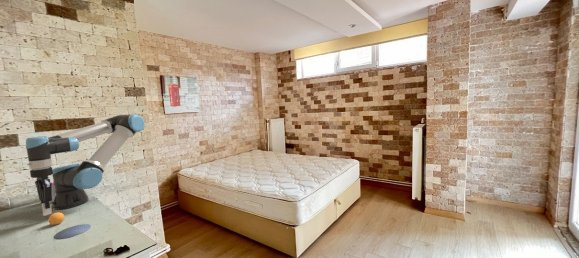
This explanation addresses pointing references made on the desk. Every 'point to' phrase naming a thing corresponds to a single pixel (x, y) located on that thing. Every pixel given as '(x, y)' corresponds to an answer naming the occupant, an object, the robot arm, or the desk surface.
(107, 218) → the desk surface
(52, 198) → the supplement box
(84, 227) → the disc
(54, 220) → the ball
